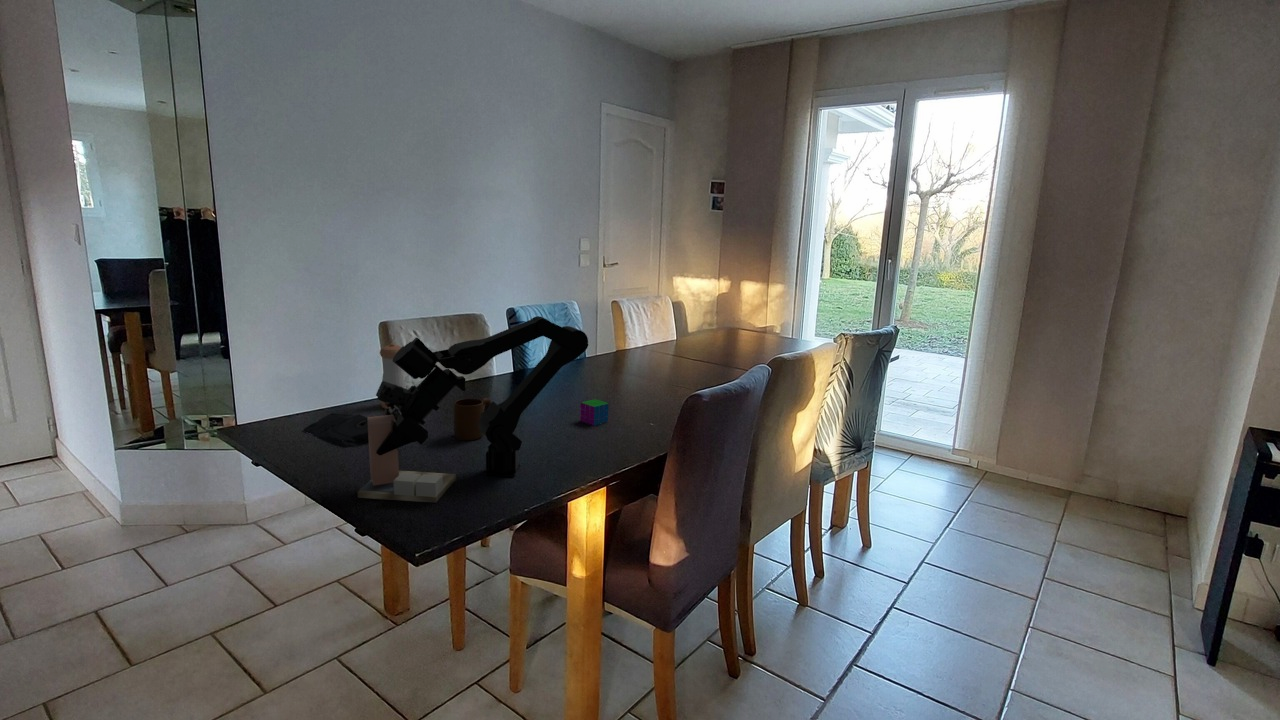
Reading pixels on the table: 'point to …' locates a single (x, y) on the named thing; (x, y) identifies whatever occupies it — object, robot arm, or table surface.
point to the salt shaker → (391, 368)
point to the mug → (468, 418)
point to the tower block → (386, 464)
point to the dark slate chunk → (341, 429)
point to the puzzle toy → (594, 412)
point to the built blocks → (418, 484)
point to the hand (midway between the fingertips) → (376, 449)
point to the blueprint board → (388, 493)
